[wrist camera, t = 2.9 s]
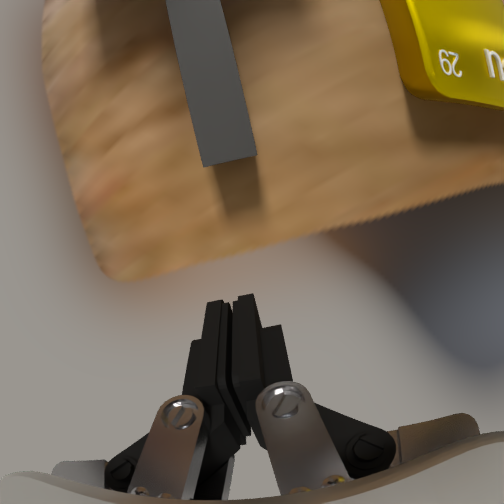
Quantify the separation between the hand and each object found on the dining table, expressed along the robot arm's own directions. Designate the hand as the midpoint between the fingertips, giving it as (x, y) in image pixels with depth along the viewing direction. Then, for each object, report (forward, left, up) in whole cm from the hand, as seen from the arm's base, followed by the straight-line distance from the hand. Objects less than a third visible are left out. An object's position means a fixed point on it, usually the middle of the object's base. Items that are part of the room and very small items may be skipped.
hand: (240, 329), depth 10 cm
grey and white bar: (0, -14, -12) cm, 19 cm away
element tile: (-23, -15, -13) cm, 30 cm away
